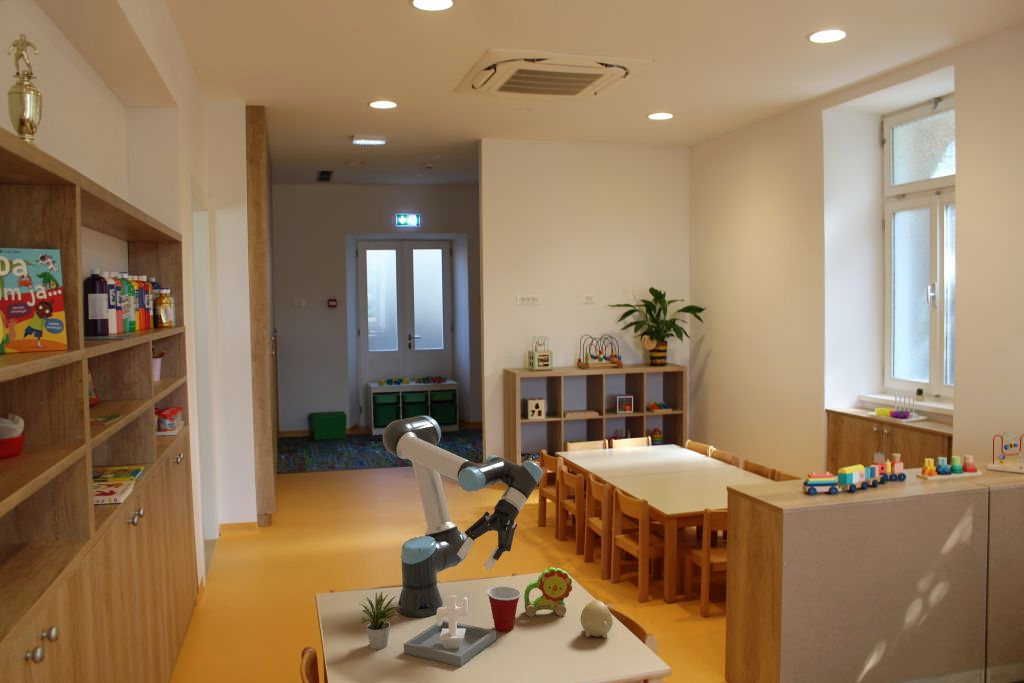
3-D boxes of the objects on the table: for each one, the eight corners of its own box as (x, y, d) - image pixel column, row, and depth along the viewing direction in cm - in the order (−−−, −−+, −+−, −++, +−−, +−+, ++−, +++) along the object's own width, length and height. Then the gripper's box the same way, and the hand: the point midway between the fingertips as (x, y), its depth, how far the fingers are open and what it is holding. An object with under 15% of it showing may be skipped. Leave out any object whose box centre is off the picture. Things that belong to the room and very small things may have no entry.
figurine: (438, 640, 247) (437, 592, 246) (469, 640, 246) (468, 591, 246) (436, 650, 239) (434, 600, 239) (467, 650, 239) (466, 600, 238)
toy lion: (525, 617, 264) (524, 571, 264) (524, 611, 270) (523, 566, 269) (573, 615, 265) (572, 570, 264) (571, 609, 270) (570, 564, 270)
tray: (403, 653, 239) (403, 643, 239) (441, 629, 257) (441, 619, 257) (461, 666, 230) (460, 656, 229) (496, 640, 247) (496, 630, 247)
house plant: (373, 662, 234) (371, 606, 233) (343, 649, 243) (341, 596, 242) (410, 645, 245) (408, 592, 244) (380, 634, 254) (378, 582, 253)
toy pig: (612, 646, 249) (614, 614, 256) (611, 628, 241) (613, 595, 248) (580, 644, 251) (583, 611, 258) (578, 626, 242) (581, 593, 250)
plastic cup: (518, 636, 249) (517, 598, 249) (484, 634, 252) (483, 596, 251) (525, 622, 260) (524, 586, 259) (492, 620, 262) (491, 584, 262)
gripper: (542, 519, 250) (506, 579, 241) (491, 504, 269) (456, 558, 260) (529, 505, 246) (492, 565, 237) (479, 491, 265) (442, 546, 256)
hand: (473, 562), depth 248 cm, fingers open, 13 cm apart
